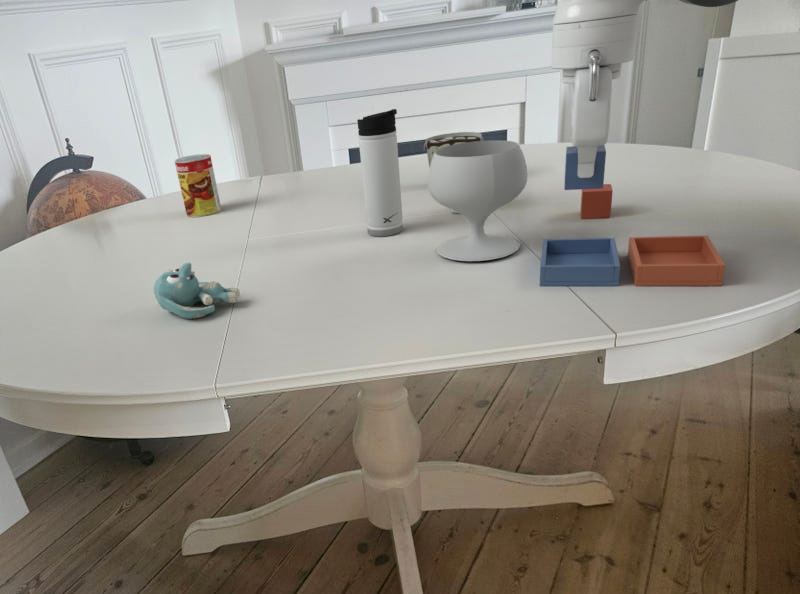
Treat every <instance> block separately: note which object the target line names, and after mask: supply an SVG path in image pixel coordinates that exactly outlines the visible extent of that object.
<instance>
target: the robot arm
mask: <svg viewBox="0 0 800 594" xmlns="http://www.w3.org/2000/svg"><path fill="white" fill-rule="evenodd" d="M645 1H647V2H652V3H655V4H660V5H677V6H679V5H693V6H699V7H705V8H718V7H722V6H727V5H731V4H733V3H736V2H737V1H739V0H557V4H556V9H555V12H554V16H553V21H552V38H551V39H552V40H551V43H552V44H551V65H550V66H551V67H550V68H551V69H553V70H562V72H561V75H562V76H561V82H562V83H563V84H568V96H569V97H568V98H569V110H570V111H569V112H570V122H571V123H570V125H571V126H570V127H571V144H572V146H574V147H578V177H580V178H590V177H592V176H593V174H594V164H595V158H596V153H597V147H598V146H602V145H606V144H607V142H608V139H609V134H610V121H611V107H612V94H613V93H612V92H613V80H616V79H619V78H620V77H621V73H622V65H623V64H624V63H628V62H632V61H634V60H635V56H636V55H635V54H636V43H637V34H638V22H639V12H640V6H641V4H642V3H644V2H645Z"/></svg>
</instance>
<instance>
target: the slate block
mask: <svg viewBox="0 0 800 594" xmlns="http://www.w3.org/2000/svg"><path fill="white" fill-rule="evenodd" d="M605 145H606V144H605ZM605 145H602V146H598V147H597V153H596V158H595V164H594V174H593V176H592V177H590V178H580V177H578V147H574V146H573V145H571V146H566V147H565V167H564V168H565V169H564V187H563V188H564V191H574V190H582V189H601V188H603V184H605V183H604V182H605V170H606V169H605V168H606V159H607V151H606V146H605Z"/></svg>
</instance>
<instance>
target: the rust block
mask: <svg viewBox="0 0 800 594" xmlns="http://www.w3.org/2000/svg"><path fill="white" fill-rule="evenodd" d="M613 192H614V191H613V186H612V184H611V183H604V184H603V188H601V189H581V197H580V219H581V220H584V219H586V220H587V219H609V218H608V217H610V218H611V215H612V203H613Z"/></svg>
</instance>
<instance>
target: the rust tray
mask: <svg viewBox="0 0 800 594" xmlns="http://www.w3.org/2000/svg"><path fill="white" fill-rule="evenodd" d="M627 248H628V249H627V258H628V262H629V267H630V271H631V275H632V279H633V284H634V286H635V287H722V286H723V280H724V277H725V270H726V263H725V262H724V261H723V259H722V257H721V255H720V254H719V252H718V251H717V249H716V247H715V246H714V244H713V242H712V240H711V239H710V237H709V235H704V234H703V235H676V236H675V235H667V236H663V235H661V236H635V237H634V236H630V237H628V247H627Z"/></svg>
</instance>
